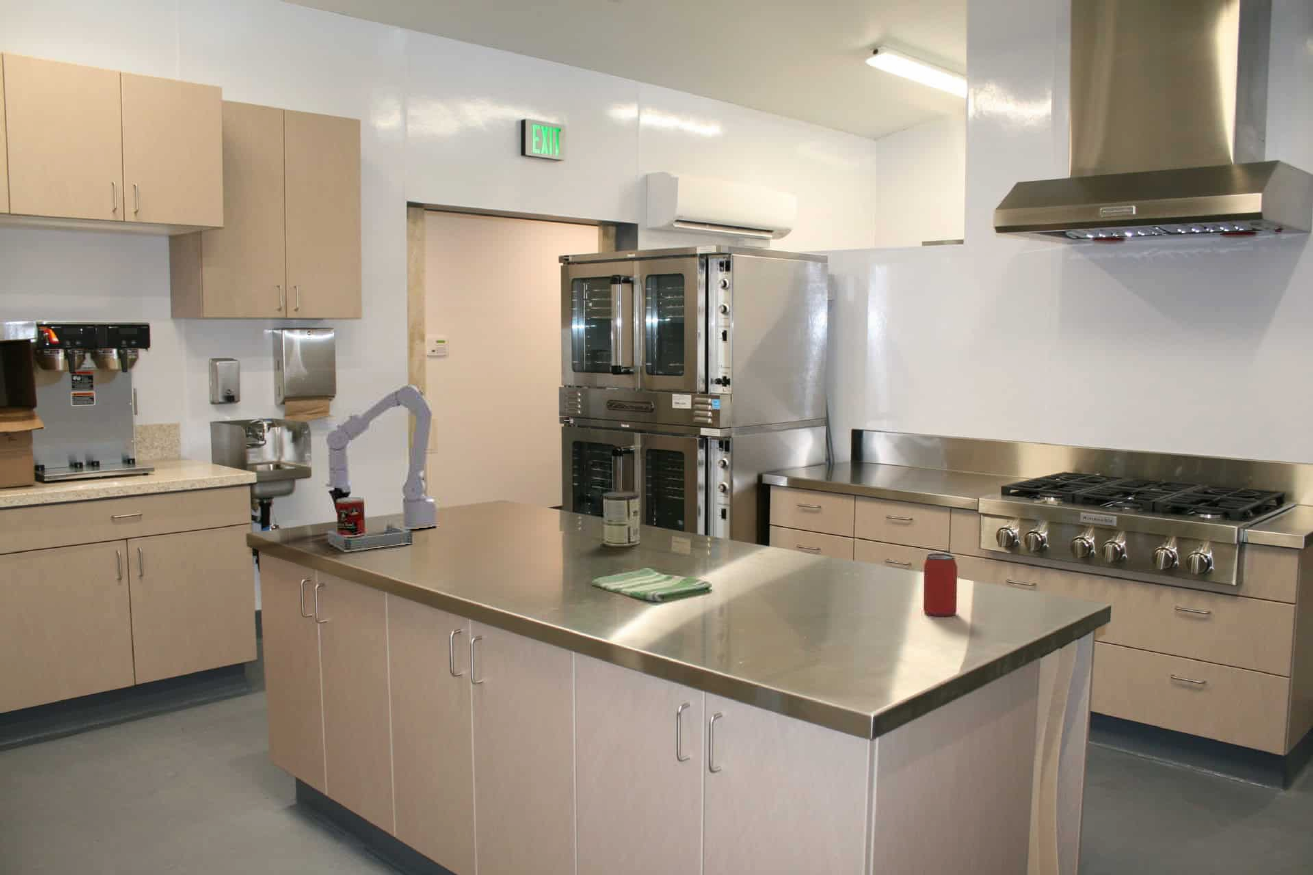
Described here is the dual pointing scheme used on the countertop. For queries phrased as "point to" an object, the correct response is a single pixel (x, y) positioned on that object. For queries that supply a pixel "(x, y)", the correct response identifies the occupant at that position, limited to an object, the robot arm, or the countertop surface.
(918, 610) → the countertop surface
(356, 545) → the tray
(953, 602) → the beer can
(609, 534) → the coffee can
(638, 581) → the dish towel
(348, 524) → the canned food
